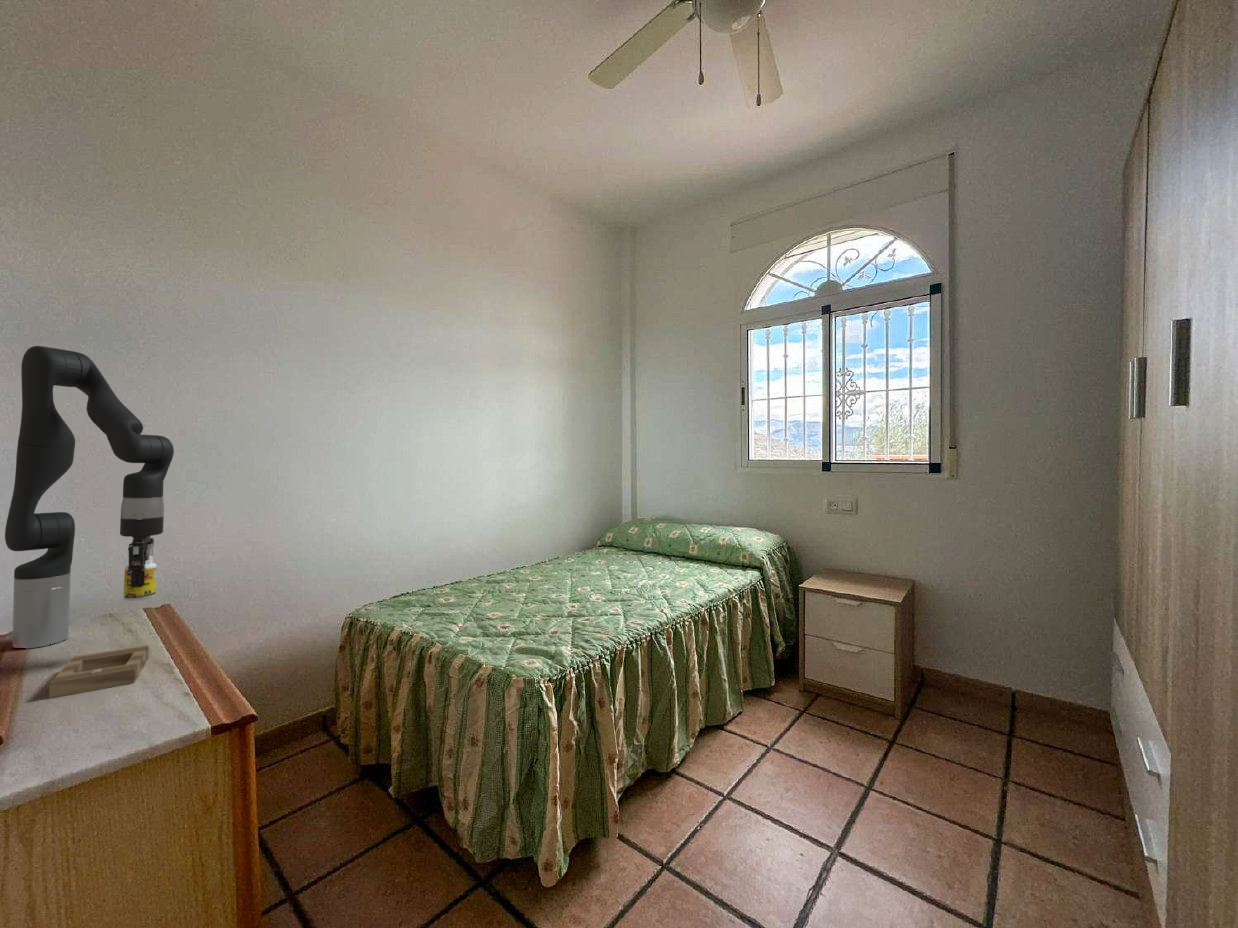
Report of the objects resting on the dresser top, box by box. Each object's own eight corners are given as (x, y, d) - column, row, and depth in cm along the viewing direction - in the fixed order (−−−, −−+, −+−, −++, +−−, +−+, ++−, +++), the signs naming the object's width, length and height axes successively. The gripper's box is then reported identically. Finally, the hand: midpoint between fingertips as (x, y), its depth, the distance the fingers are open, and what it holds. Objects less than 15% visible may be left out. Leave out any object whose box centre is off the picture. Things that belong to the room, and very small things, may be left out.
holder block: (74, 669, 107) (74, 654, 107) (148, 657, 114) (149, 643, 114) (49, 698, 94) (49, 681, 94) (134, 682, 101) (134, 667, 101)
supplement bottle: (120, 602, 113) (121, 559, 113) (127, 596, 118) (128, 555, 118) (152, 599, 116) (153, 557, 116) (158, 594, 121) (159, 553, 121)
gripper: (127, 513, 120) (125, 579, 120) (113, 519, 109) (110, 593, 109) (168, 512, 125) (165, 576, 125) (158, 518, 113) (156, 588, 113)
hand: (140, 583), depth 117 cm, fingers closed on supplement bottle, 5 cm apart
